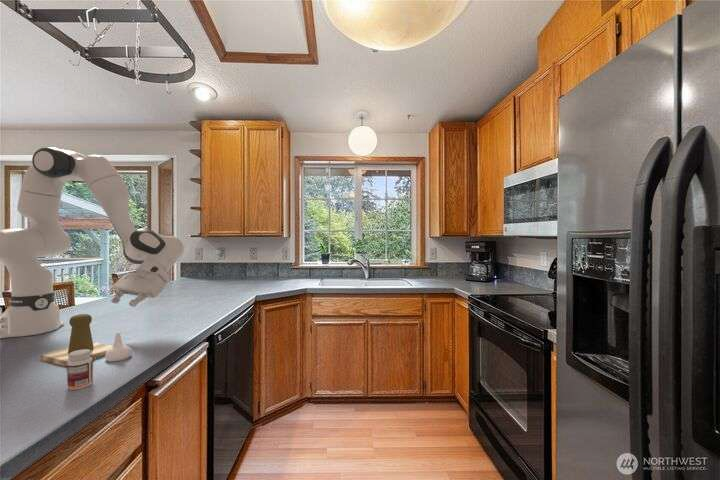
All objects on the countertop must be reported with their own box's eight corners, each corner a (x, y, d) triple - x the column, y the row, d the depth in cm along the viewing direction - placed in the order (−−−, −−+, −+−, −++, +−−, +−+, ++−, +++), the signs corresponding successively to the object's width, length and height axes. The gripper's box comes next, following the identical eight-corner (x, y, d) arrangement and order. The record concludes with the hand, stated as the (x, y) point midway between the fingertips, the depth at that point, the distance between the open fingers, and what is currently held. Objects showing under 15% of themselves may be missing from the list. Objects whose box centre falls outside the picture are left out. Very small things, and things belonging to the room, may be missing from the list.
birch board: (40, 359, 97) (40, 354, 97) (90, 345, 109) (90, 341, 109) (68, 367, 91) (68, 361, 91) (118, 351, 103) (117, 346, 103)
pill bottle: (77, 381, 82) (76, 348, 82) (97, 381, 83) (97, 348, 83) (61, 390, 78) (61, 355, 78) (83, 390, 78) (82, 355, 78)
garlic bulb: (109, 357, 100) (106, 332, 99) (134, 353, 102) (130, 328, 102) (102, 365, 94) (99, 338, 94) (128, 360, 97) (125, 333, 96)
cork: (78, 355, 96) (77, 317, 96) (62, 353, 98) (62, 316, 98) (98, 348, 102) (98, 313, 102) (83, 346, 104) (83, 311, 104)
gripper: (125, 265, 124) (96, 295, 115) (163, 269, 116) (135, 301, 107) (137, 276, 128) (110, 305, 119) (174, 280, 120) (148, 312, 112)
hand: (122, 304), depth 113 cm, fingers open, 8 cm apart
